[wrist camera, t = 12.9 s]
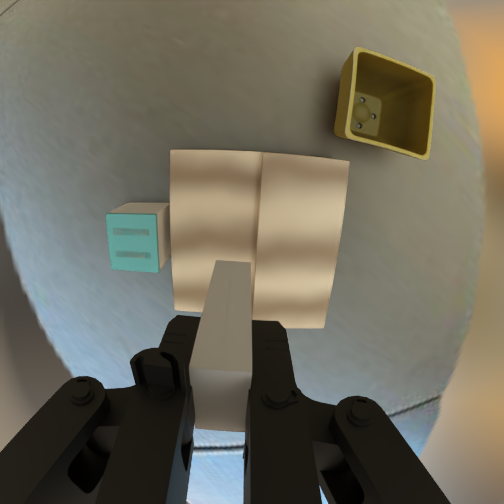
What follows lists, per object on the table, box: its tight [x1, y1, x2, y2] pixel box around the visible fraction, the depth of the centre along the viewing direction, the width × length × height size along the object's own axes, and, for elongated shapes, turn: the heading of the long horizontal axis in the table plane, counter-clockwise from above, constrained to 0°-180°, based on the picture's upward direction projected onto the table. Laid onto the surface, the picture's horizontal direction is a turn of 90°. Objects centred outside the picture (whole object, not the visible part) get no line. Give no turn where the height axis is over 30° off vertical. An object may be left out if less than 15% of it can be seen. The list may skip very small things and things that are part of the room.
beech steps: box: [170, 150, 350, 328], centre depth 30 cm, size 18×17×6 cm
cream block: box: [106, 203, 171, 273], centre depth 30 cm, size 6×6×6 cm
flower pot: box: [334, 47, 436, 160], centre depth 24 cm, size 9×9×9 cm
